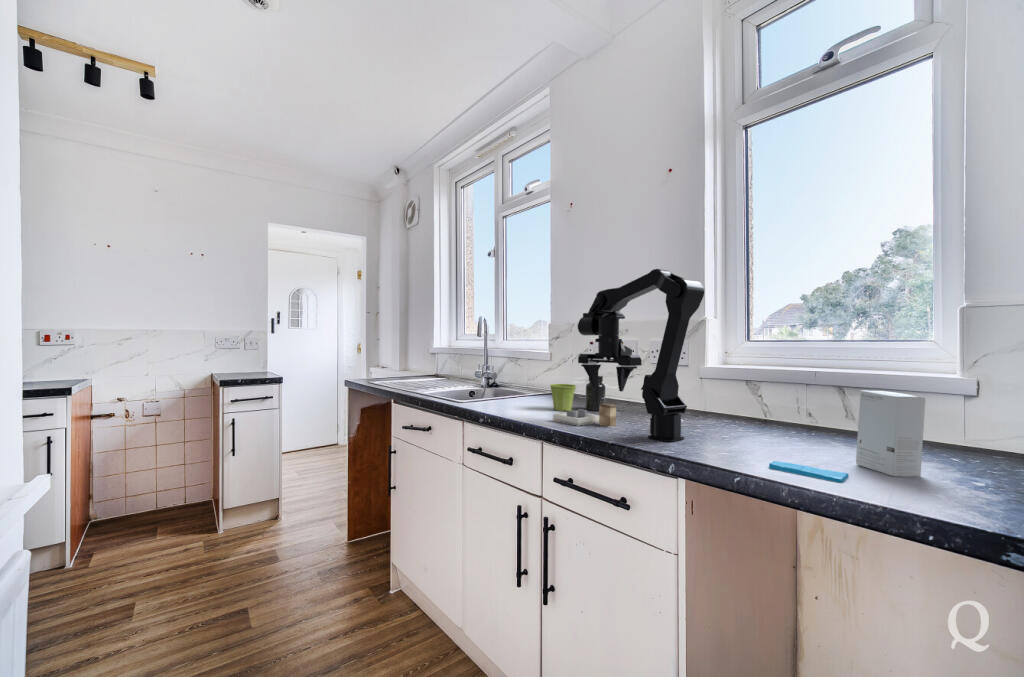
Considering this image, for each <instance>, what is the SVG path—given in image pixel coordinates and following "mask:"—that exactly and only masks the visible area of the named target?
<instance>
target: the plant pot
mask: <svg viewBox="0 0 1024 677" xmlns="http://www.w3.org/2000/svg"><path fill="white" fill-rule="evenodd" d="M549 387H550V391H551V395H552V403H553V410H555V411H557V412H558V411H559V412H563V411H566V412H567V411H572V409H573V402H574V396H575V395H574V394H575V392H576V388H577V385H576V384H569V383H553V384H549Z"/></svg>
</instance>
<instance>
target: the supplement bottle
mask: <svg viewBox="0 0 1024 677" xmlns="http://www.w3.org/2000/svg"><path fill="white" fill-rule="evenodd" d="M603 403H606V385H605V384H604V380H603V375H598V387H597V389H594V387H593V385H592V383H591V381H590V378H589V377H588V383H586V385H585V410H587V411H590V410H591V412H592V411H593V412H599V404H603Z"/></svg>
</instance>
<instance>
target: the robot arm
mask: <svg viewBox="0 0 1024 677" xmlns="http://www.w3.org/2000/svg"><path fill="white" fill-rule="evenodd" d="M657 289H658V290H659V291H660V292H662V293H664V294H665V306H666V308H667V313H668V316H667V320H666V325H665V328H664V333H663V337H662V340H661V344H660V348H659V349H660V350H659V353H658V357H657V362H656V366H655V369H654V371H653V372H652V373H651V374H645V375H644V377H643V384H642V387H641V388H640V390H641V391H642V392H641V393H642V394H641V397H642V399H643V402H644V405H645V409H646V413H647V414H650V415H651V417H650V419H649V420H650V421H649V423H650V424H649V434H648V435H647V438H648V439H649V438H650V439H653V440H659V441H663V442H669V443H670V442H676V441H680V440H685V436H683V435H682V415H685V414H686V411H687V408H688V406H687V404H686V403H685V401H684V400H683V399H682V397H681V396H680V395H679V387H680V386H679V381H678V378H677V371H678V367H679V366H678V365H679V363H680V359H681V356H682V355H681V354H682V351H683V346H684V343H685V339H686V336H687V331H688V327H689V322H690V320H691V318H692V317H693V315H694V314H695V313H696V312H697V311H698V309H699V308H700V305H701V304H702V301H703V299H704V296H705V288H704V286H703V284H702V283H701V282H699V281H698V280H694V279H693V280H692V279H686V278H683V277H681V276H679V275H676V274H674V273H673V272H671V271H668V270H666V269H662V268H661V269H660V268H655V269H652V270H650V271H649V272H648V273H646V274H643V275H642V276H639V277H638V278H636V279H633V280H631V281H630V282H628V283H625V284H624V285H621V286H619V287H614V288H613V287H612V288H606V289H602V290H599V291H598V292H597V293H596V296H595V298H594V300H593V302H592V304H591V306H590V308H589V310H588V312H583V314H582V317H581V318H580V319H579V320H578V322H577V331H578V332H579V334H580V335H581V336H598V338H595V343H598V344H597V347H598V350H597V352H595V353H580V354H579V355H578V356H577V361H578V362H577V363H578V364H581V365H580V367H582V368H583V369H584V371H585V373H586V374H587V377H588V379H589V378H590V381H591V383H592V385H593V387H594V389H597V387H598V376H599V370H600V368H601V366H602V364H599V363H605V364H606V363H608V364H609V363H611V364H618V366H616V367H615V368H616V369H615V370H616V376H617V386H618V391H619V392H623V391H624V389H625V387H626V384H627V381H628V379H629V376H630V374H631V373H632V372H633V370H635V369H637V368H638V366H642V358H641V356H640V355H638V354H634V355H633V349H631V348H630V347H628V346H627V345H623V340H622V338H620V320H623V319H624V320H625V318H626V316H625V315H624V314H623V313H622V312H621V310H622V309H624V308H625V307H627V305H628V303H629V302H631V301H632V300H635V299H636V298H639V297H642V296H643V295H646V294H648V293H651V292H652V291H654V290H657Z"/></svg>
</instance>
